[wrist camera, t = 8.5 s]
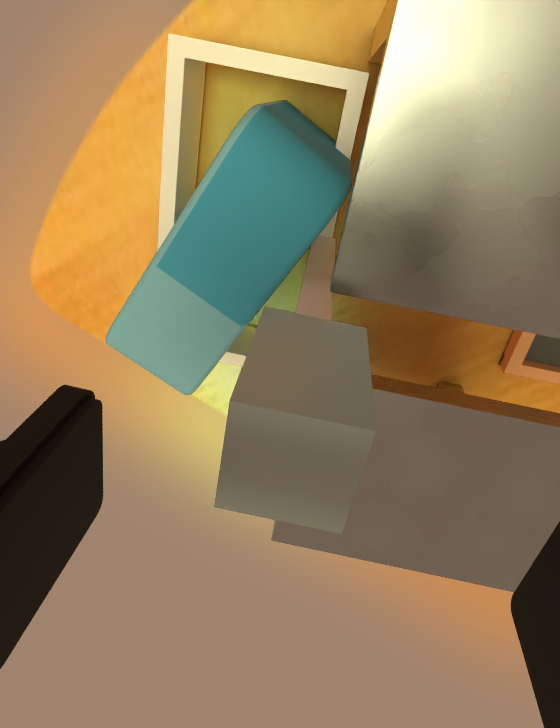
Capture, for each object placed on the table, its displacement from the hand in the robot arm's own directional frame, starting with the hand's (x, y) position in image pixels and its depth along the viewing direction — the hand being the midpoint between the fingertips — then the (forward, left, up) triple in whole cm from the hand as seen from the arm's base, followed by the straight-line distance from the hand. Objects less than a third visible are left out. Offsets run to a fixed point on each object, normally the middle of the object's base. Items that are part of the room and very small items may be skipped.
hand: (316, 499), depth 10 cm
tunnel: (-5, 0, -23) cm, 23 cm away
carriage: (+5, 0, -23) cm, 23 cm away
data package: (+5, 0, -23) cm, 23 cm away
